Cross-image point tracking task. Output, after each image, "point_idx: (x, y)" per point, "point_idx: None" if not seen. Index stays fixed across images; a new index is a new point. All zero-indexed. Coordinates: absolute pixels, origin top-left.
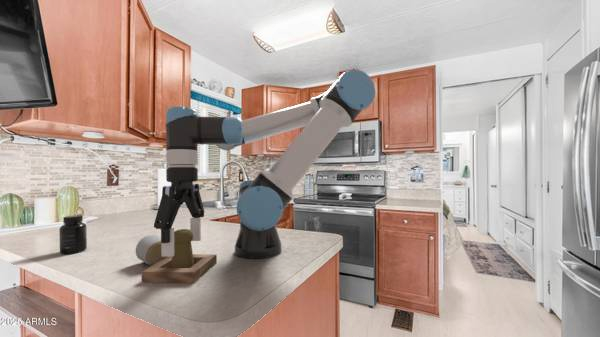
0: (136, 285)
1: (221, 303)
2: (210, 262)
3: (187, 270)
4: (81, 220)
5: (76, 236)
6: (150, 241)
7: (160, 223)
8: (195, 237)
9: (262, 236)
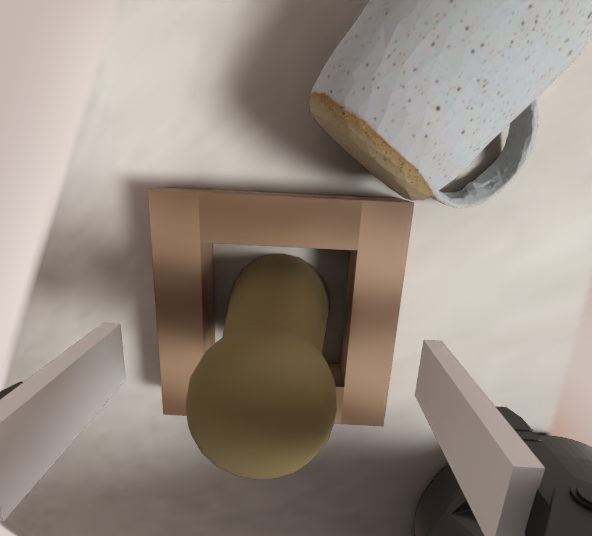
0: (137, 184)
1: (67, 496)
2: None
3: (178, 382)
4: None
5: None
6: (394, 59)
7: None
8: (426, 384)
9: None
